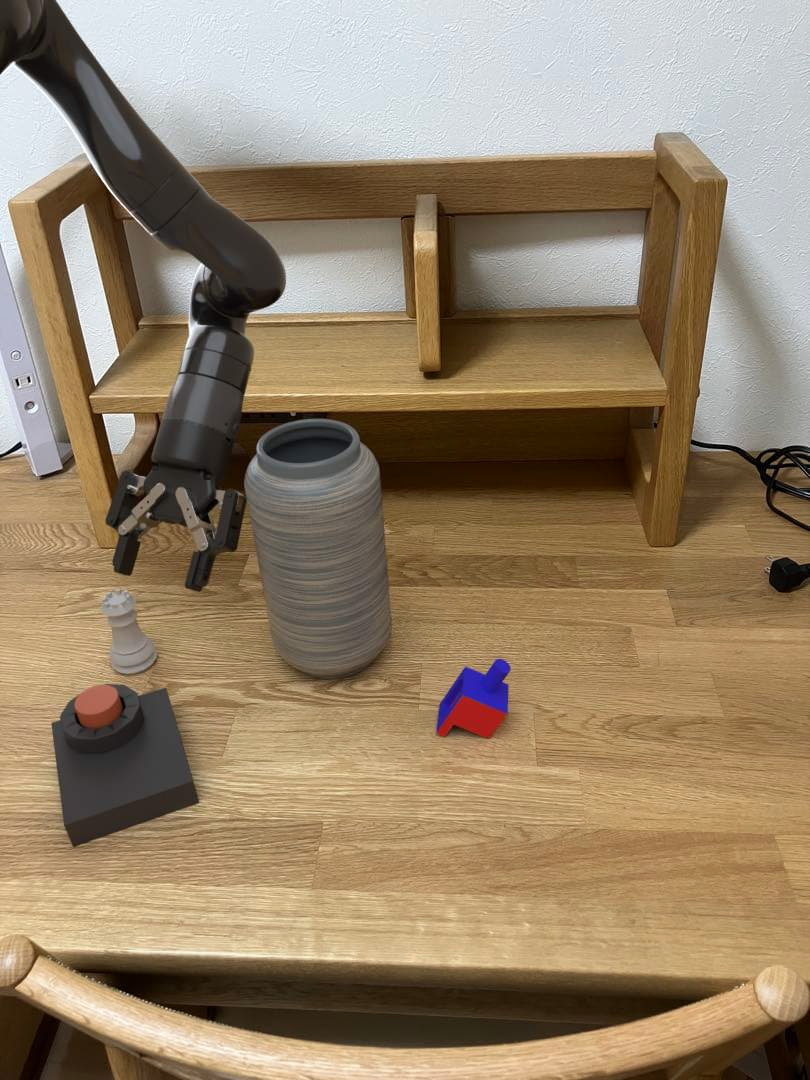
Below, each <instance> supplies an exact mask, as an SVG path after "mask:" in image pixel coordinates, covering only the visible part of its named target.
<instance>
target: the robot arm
mask: <svg viewBox="0 0 810 1080" xmlns="http://www.w3.org/2000/svg"><path fill="white" fill-rule="evenodd" d="M13 66H14V68H15V69H17V70H18V71H19V72H20V73H22V75H24V76H25V77H26V78H27V79H28V80H29V81H31V82H32V83H33V85H35V86H36V88H37V89H39V90H40V92H42V94H43V95H45V97H46V98H47V99H48V100H49V102H50V103H51V104H52V105H53V107H54V108H55V109H56V110H57V111H58V113H59V114H60V115H61V117H62V118H63V120H64V121H65V122H66V124H67V126H69V129H71V131H72V133H73V134H74V136H75V138H76V140H77V141H78V143H79V144H80V145H81V148H82V150H83V151H84V153H85V155H86V156H87V158H88V160H89V162H90V164H91V165H92V167H93V168H94V170H95V172H96V173H97V175H98V176H99V177H100V179H101V181H102V182H103V183H104V185H105V186H106V188H107V189H108V190H109V192H110V193H111V194H112V196H114V198H115V199H116V201H118V202H119V204H120V205H121V206H122V207H123V208H124V209H125V210H126V211H127V212H128V213H129V214H130V215H131V216H132V217H133V219H135V221H137V222H138V224H140V226H141V227H143V228H144V230H145V231H146V232H147V233H148V234H149V235H150V236H151V237H152V238H153V239H154V240H155V241H156V242H157V243H158V244H159V245H161V246H162V247H163V248H164V249H166V250H168V251H170V252H174V253H175V252H176V253H177V252H178V253H184V254H189V255H190V256H191V257H193V258H194V259H196V260H197V261H198V262H200V264H199V266H198V267H197V270H196V272H195V274H194V278H193V280H192V284H191V290H190V296H189V307H188V308H189V309H188V323H187V327H188V328H187V329H188V333H187V334H188V335H187V341H186V343H185V347H184V349H183V353H182V356H181V360H180V364H179V367H178V371H177V373H176V377H175V380H174V383H173V385H172V387H171V389H170V391H169V394H168V397H167V400H166V404H165V407H164V411H163V414H162V418H161V421H160V425H159V429H158V432H157V436H156V439H155V443H154V446H153V450H152V454H151V458H150V459H151V470H150V472H149V473H148V475H147V476H141V475H138V474H137V473H134V472H132V471H130V470H123V471H121V473H120V476H119V479H118V482H117V484H116V488H115V491H114V493H113V497H112V500H111V503H110V504H109V508H108V511H107V514H106V517H105V525H106V526H108V527H110V528H112V529H114V530H115V531H116V532H117V533H118V539H117V543H116V546H115V549H114V554H113V557H112V562H111V563H112V567H113V572H114V573H116V574H119V575H122V576H128V577H130V576H131V575H133V572H134V568H135V565H136V562H137V558H138V554H139V550H140V547H141V543H142V541H140V539H141V538H143V536H144V535H145V534H146V533H148V532H149V531H150V530H151V529H152V528H156V527H158V526H159V525H160V524H161V523H165V524H169V525H176V524H177V525H179V526H182V527H186V528H187V529H188V530H189V532H190V533H191V535H192V537H193V539H194V542H195V546H196V548H197V551H196V550H194V551H193V553H192V557H191V560H190V563H189V566H188V567H189V568H188V570H187V575H186V578H185V582H184V588H185V589H186V590H190V591H193V592H198V593H201V592H202V591H203V589H204V588H206V587H207V586H208V584H209V581H210V577H211V573H212V571H213V566H214V563H215V560H216V557H217V556H218V555H220V554H225V553H229V554H234V553H235V552H236V551H237V549H238V546H239V541H240V537H241V531H242V526H243V522H244V516H245V511H246V506H247V497H246V494H243V493H241V492H240V491H238V490H235V489H233V488H230V487H229V488H227V489H226V490H223V489H222V488H221V486H222V485H221V484H222V481H224V480H225V478H226V475H227V472H228V468H229V464H230V460H231V457H232V452H233V449H234V445H235V441H236V437H237V434H238V431H239V428H240V427H239V426H240V423H241V419H242V412H243V405H244V400H245V395H246V391H247V387H248V384H249V380H250V376H251V373H252V369H253V364H254V358H255V349H254V344H253V343H252V341H251V340H250V339H249V338H248V337H247V336H246V335H245V334H246V327H247V321H248V318H249V316H250V314H252V313H255V312H257V311H260V310H263V309H267V308H270V307H271V306H272V305H274V304H275V303H277V302H278V301H279V300H280V298H281V297H282V296H283V294H284V293H285V290H286V285H287V273H286V269H285V266H284V263H283V261H282V259H281V256H280V255H279V253H278V251H277V250H276V249H275V247H274V246H273V245H272V243H270V241H269V240H268V239H267V238H266V237H265V236H264V235H263V234H262V233H260V232H259V231H258V230H257V229H255V228H254V227H253V226H252V225H251V224H249V223H248V222H246V221H245V220H244V219H243V218H241V217H240V216H239V215H237V214H236V213H234V212H233V211H232V210H231V209H229V208H228V207H226V206H225V205H223V204H221V203H220V202H219V201H217V200H216V199H214V197H212V196H211V195H210V194H209V193H208V192H207V191H206V189H205V188H204V187H203V185H202V184H200V182H199V181H198V180H197V179H196V177H195V176H193V175H192V174H191V172H190V171H189V170H188V169H187V168H186V166H185V165H184V164H183V163H182V162H181V161H180V160H179V159H178V158H177V156H176V155H175V154H174V153H173V152H172V151H171V150H170V148H168V147H167V145H166V144H165V143H164V142H163V141H162V139H160V138H159V136H158V135H157V134H156V133H155V132H154V130H153V129H152V128H151V126H149V125H148V123H146V121H145V120H144V119H143V118H142V116H141V115H140V114H139V113H138V112H137V111H136V109H135V108H134V106H133V105H132V104H131V103H130V102H129V100H128V99H127V98H126V97H125V95H124V94H123V93H122V92H121V90H120V88H118V86H117V85H116V84H115V81H113V80H112V78H111V77H110V76H109V74H108V73H107V71H106V70H105V68H104V67H103V66H102V64H101V63H100V62H99V60H98V59H97V58H96V56H95V55H94V54H93V52H92V51H91V50H90V47H88V45H87V44H86V43H85V41H84V40H83V38H82V37H81V36H80V34H79V33H78V31H77V30H76V28H75V26H74V25H73V24H72V22H71V20H70V18H69V17H68V16H67V14H66V13H65V12H64V10H63V8H62V7H61V5H60V4H59V2H58V1H57V0H0V77H1V76H2V75H3V74H5V72H7V71H8V70H9V69H11V67H13ZM144 494H145V497H144V498H143V499H142V500H141V501H140V502H139V499H140V496H143V495H144ZM217 505H218V508H219V510H220V511H219V512H220V513H219V517H218V518H219V519H218V520H217V521H218V522H217V527H215V524H214V521H213V518H212V515H211V511H212V510H214V508H216V507H217Z"/></svg>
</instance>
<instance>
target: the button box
mask: <svg viewBox="0 0 810 1080" xmlns="http://www.w3.org/2000/svg"><path fill="white" fill-rule="evenodd" d="M103 685H110V686H112V687H114V688H115V689H116V690H117V691H118V694H119V698H120V701H121V704H122V707H123V711H122V714H121V716H120V717H119V718H118V719H117V720H115V721H114V722H112V723H111V724H110V725H107V726H104V727H100V728H97V729H91V728H86V727H84V726H83V725H82V724H81V723H80V721H79V718H78V715H77V713H76V710H75V707H74V704H75V700H76V698H77V697H78V695H79V694H77V695H76V696H74V697H73V698H72V699H70V700H68V702H67V704H66V705H65V707H64V708H63V711H62V712H61V714H59V715H60V716H59V720H56V721H53V722H51V731H52V740H53V749H54V755H55V763H56V771H57V781H58V787H59V788H58V789H59V795H60V804H61V814H62V819H63V826H64V828H65V832H66V834H67V836H68V838H69V840H70V843H71V845H72V847H73V848H75V847H79V846H80V845H81V846H82V845H84V844H86V843H89V842H93V841H95V840H98V839H101V838H104V837H107V836H109V835H112V834H115V833H118V832H120V831H124V830H126V829H127V830H128V829H130V828H132V827H135V826H138V825H141V824H143V823H144V824H145V823H146V822H149V821H152V820H156V819H158V818H160V817H163V816H166V815H169V814H172V813H174V812H179V811H181V810H183V809H186V808H189V807H193V806H195V805H197V804H200V800H199V796H198V793H197V789H196V786H195V781H194V778H193V775H192V772H191V768H190V764H189V760H188V758H187V755H186V750H185V748H184V744H183V741H182V740H183V739H182V737H181V733H180V730H179V727H178V724H177V719H176V716H175V713H174V709H173V706H172V703H171V699H170V695H169V693H168V690H167V687H163V688H162V687H161V688H160V689H157V690H154V691H150V692H146V693H143V694H140V695H139V694H138V692H137V691H135V690H134V689H132V688H131V687H129V686H127V685H125V684H118V683H103Z"/></svg>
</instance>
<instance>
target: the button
mask: <svg viewBox="0 0 810 1080" xmlns="http://www.w3.org/2000/svg"><path fill="white" fill-rule="evenodd" d="M77 695H78V697H77V698H76V700H75V704H74V707H75V710H76V713H77V715H78V718H79V721H80V723H81V724H82V725H83V726H84V727H86V728H91V729H97V728H100V727H104V726H107V725H110V724H111V723H112V722H114V721H115V720H117V719H118V718H119V717H120V716H121V714H122V711H123V707H122V704H121V701H120V698H119V694H118V691H117V690H116V689H115V688H114V687H112V686H110V685H104V684H96V685H93V686H90V687H88V688H86V689H84V690H83V691H82V692H80V693H79V694H77Z"/></svg>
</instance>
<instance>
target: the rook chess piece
mask: <svg viewBox="0 0 810 1080" xmlns="http://www.w3.org/2000/svg"><path fill="white" fill-rule="evenodd" d="M114 590H115V593H112V591H108V592H106V593H105V596H102V599H101V600H102V604H101V606H100V612H101V614H103V615H105V616H107V619H106V623H107V625H109V626H110V628H111V635H112V642H111V647H110V649H109V655H108V657H109V659H110V665H111V667H112V669H113V670H114V671H116V672H118V673H120V674H122V675H127V676H131V675H137V674H140V673H143V672H145V671H147V670H148V669H150V668H151V667H152V665H153V664H154V663H155V661H156V659H157V656H158V650H157V649H156V647H155V643H154V641H153V640H152V638H151V637H149V636H147V633H144V632H143V630H142V629H141V627H140V625H139V623H138V619H137V618H138V611H136V610H135V607H136V605H137V600H136V598H135V597H134V596H132V595H131V594H130V592H129V590H127V589H124V590H122V588H117V589H116V588H115V589H114Z"/></svg>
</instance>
